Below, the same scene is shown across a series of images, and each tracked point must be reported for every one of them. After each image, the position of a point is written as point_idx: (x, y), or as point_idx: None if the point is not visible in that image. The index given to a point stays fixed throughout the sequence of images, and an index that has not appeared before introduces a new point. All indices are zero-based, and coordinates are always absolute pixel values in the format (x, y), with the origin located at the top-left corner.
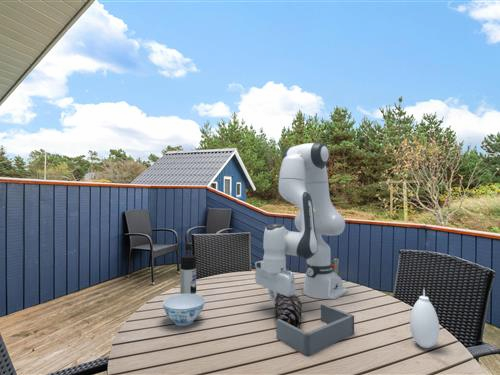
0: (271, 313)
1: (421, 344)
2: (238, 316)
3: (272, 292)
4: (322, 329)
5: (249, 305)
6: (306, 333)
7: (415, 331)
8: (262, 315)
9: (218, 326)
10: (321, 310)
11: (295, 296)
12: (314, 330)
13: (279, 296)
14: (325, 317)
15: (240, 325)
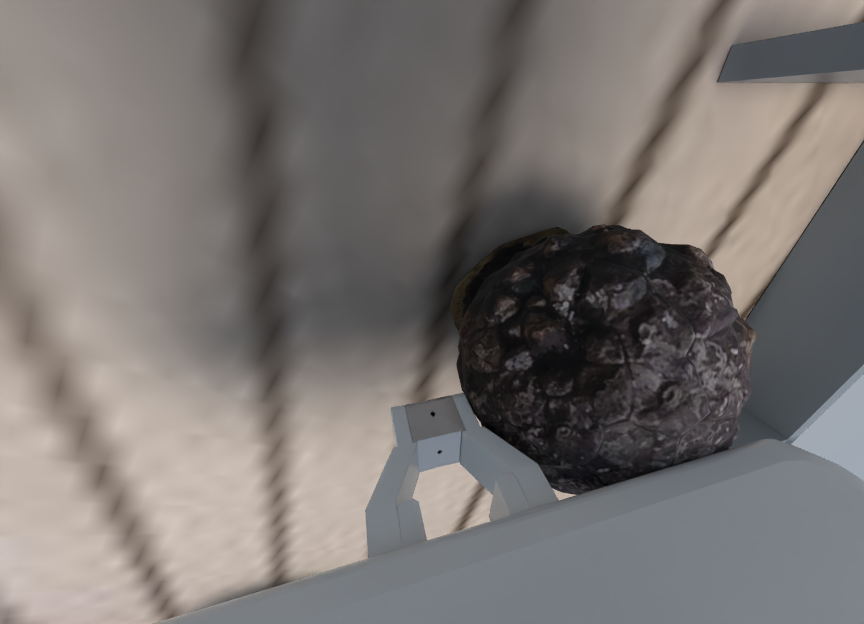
0: (373, 338)
1: None
2: (317, 489)
3: (404, 498)
4: (855, 378)
5: (131, 414)
6: (786, 441)
7: None
8: (371, 395)
9: None
10: (844, 71)
11: (743, 382)
12: (819, 410)
13: (582, 493)
14: (809, 77)
15: (414, 491)
